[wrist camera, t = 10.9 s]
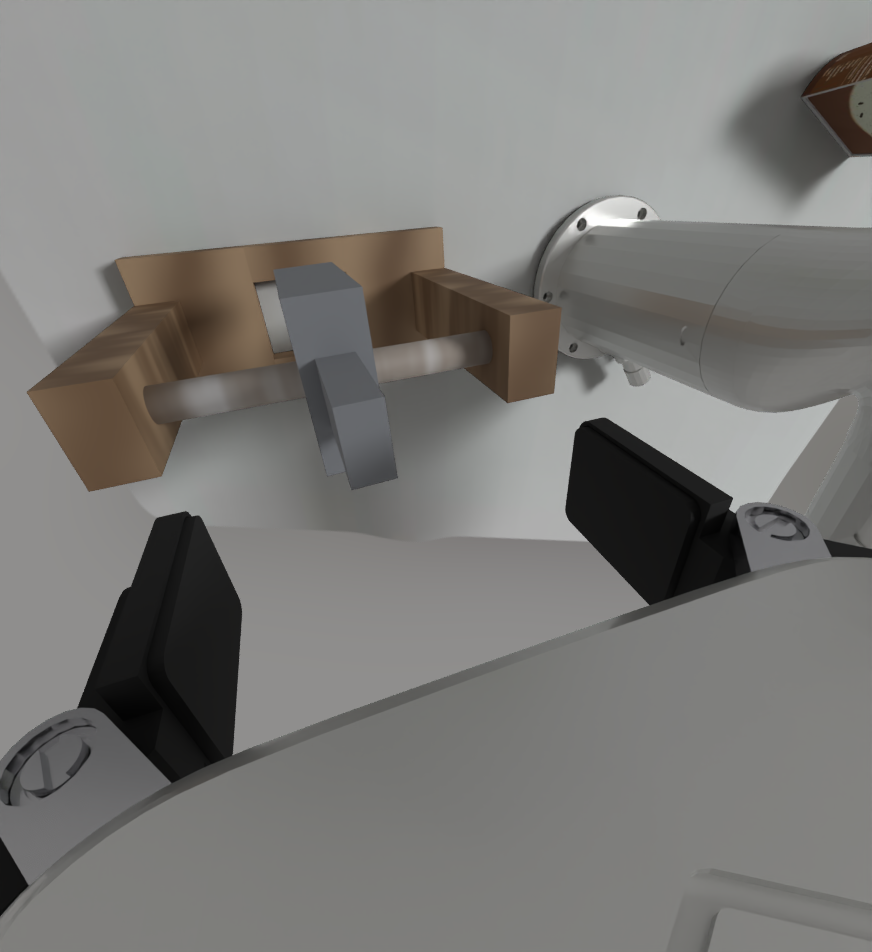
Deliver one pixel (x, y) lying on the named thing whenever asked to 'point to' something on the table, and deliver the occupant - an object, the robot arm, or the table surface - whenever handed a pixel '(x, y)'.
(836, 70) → the food container
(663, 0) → the table surface
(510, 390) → the rack
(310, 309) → the stepped gray bar
